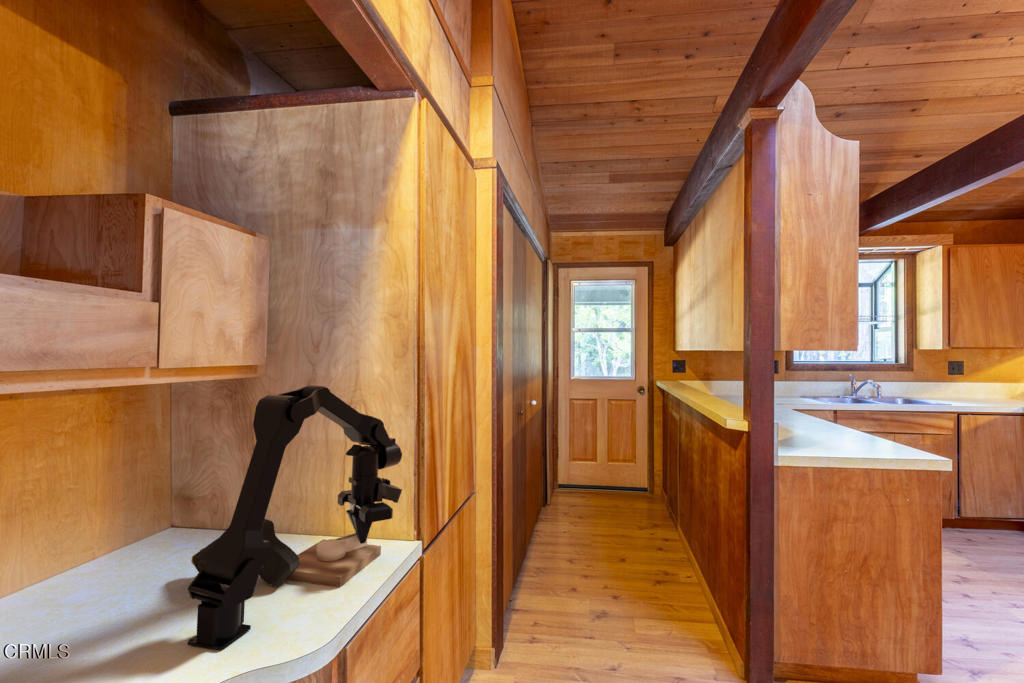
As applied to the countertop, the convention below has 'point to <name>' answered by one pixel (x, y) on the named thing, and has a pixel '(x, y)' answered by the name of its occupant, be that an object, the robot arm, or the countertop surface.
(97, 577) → the countertop surface
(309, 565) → the panel
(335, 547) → the cream elongated piece
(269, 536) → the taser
